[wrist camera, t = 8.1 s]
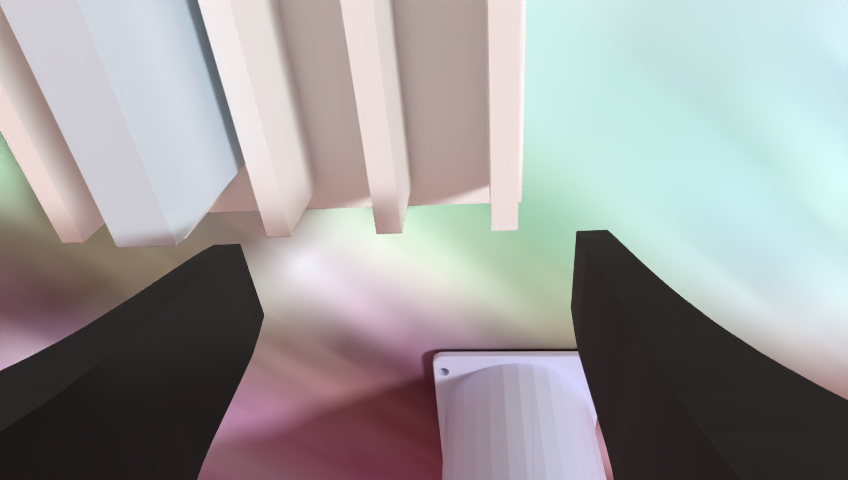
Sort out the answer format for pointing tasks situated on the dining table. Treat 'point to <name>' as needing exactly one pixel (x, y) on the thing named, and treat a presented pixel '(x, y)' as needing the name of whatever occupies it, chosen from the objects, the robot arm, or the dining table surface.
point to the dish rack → (328, 111)
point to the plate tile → (134, 108)
